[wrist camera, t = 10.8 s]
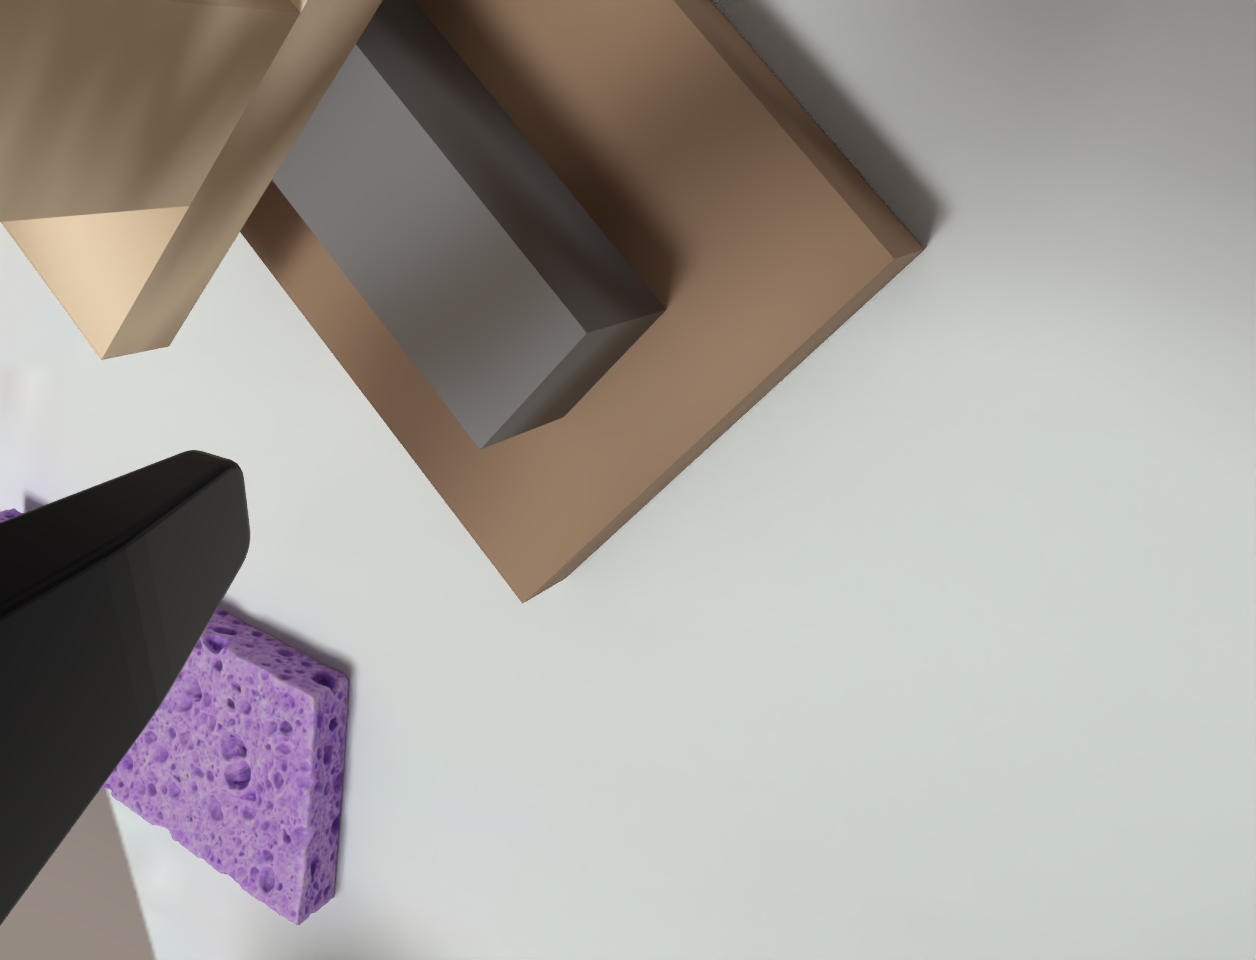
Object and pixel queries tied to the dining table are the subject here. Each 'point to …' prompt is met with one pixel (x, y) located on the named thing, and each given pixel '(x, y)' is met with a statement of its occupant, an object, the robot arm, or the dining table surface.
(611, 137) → the stand
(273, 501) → the dining table surface
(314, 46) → the oak T piece
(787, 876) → the dining table surface
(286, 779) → the sponges
